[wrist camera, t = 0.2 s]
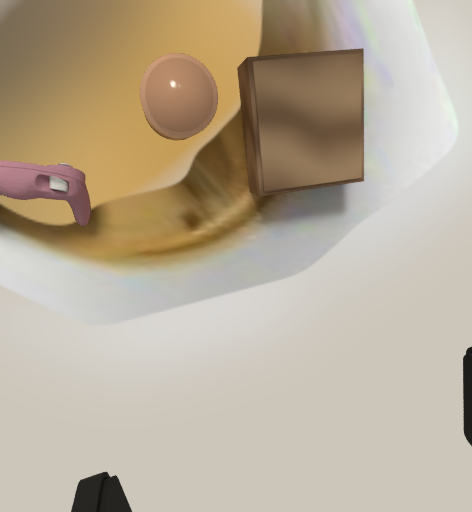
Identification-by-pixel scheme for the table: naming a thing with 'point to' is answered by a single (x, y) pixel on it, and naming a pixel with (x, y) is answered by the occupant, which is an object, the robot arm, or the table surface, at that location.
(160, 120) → the canister
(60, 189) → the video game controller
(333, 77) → the walnut block
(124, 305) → the table surface
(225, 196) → the table surface
